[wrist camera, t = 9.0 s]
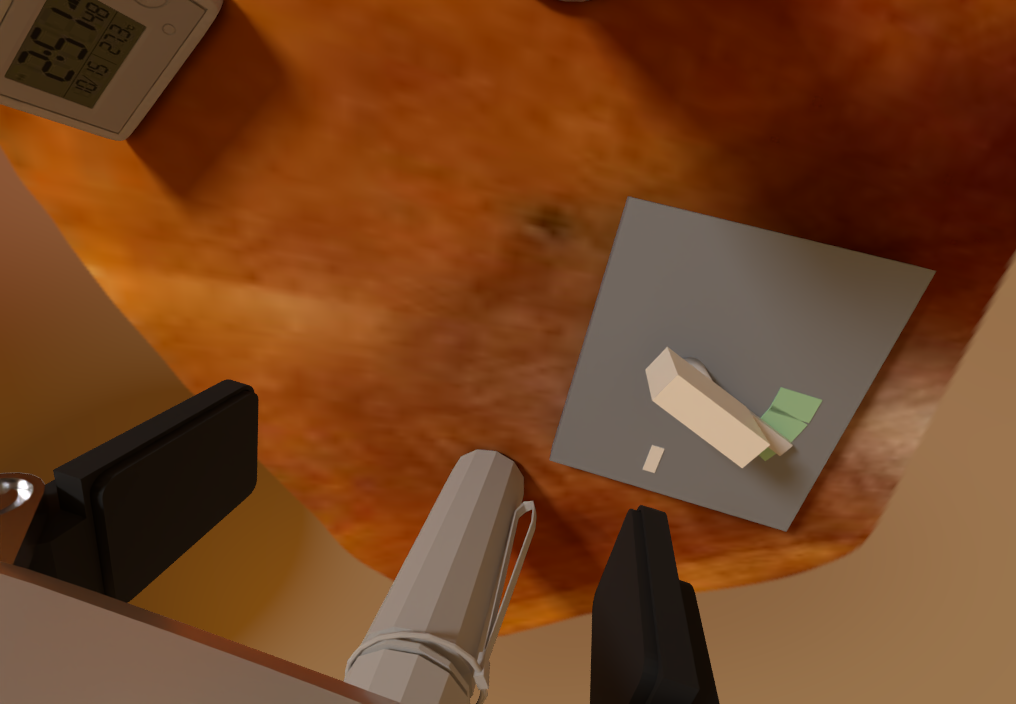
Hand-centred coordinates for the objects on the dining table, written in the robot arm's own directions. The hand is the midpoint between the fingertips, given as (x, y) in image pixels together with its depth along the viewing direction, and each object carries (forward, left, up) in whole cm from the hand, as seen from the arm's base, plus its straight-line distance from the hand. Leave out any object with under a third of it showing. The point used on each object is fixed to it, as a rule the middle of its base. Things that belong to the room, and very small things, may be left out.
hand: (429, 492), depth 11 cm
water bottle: (+20, 0, -28) cm, 35 cm away
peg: (+5, +15, -26) cm, 30 cm away
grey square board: (+4, +14, -28) cm, 32 cm away
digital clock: (-9, -35, -29) cm, 46 cm away
